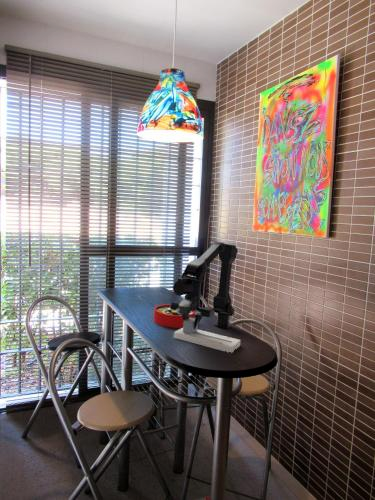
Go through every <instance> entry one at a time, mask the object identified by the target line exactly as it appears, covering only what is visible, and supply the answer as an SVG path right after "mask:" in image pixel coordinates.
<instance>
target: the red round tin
mask: <svg viewBox="0 0 375 500" xmlns="http://www.w3.org/2000/svg"><path fill="white" fill-rule="evenodd" d="M178 309H179V308H178ZM178 309H177V310H173V309H170V304H160V305H157V306H155V307H154V309H153V311H154V312H153V323H154V324H157V325H160V326H162V327H166V328H173V329H178V328H179V329H181V328H183V323H184V321H183V318H182V315H181V314H180V313H179V312H178ZM194 315H196V312H195V311H191V312H190V313H189V317H188V318H190V317H191V318H195V316H194Z"/></svg>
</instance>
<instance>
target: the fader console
mask: <svg viewBox="0 0 375 500" xmlns="http://www.w3.org/2000/svg"><path fill="white" fill-rule="evenodd" d="M173 339H177V340H181V341H184V342H188V343H193V344H195V345H196V344H197V345H200V346H203V347H207V348H210V349H214V350H218V351H222V352H225V351H226V353H229V352H231V353H230V354H232V353H234V350H235V349H236V350H237V349H238V348H239V347H240V346H241V339H237V338H233V337H230V336H225V335H222V334H217V333H214V332H210V331H206V330H201V329H198V330H197V331H196V332H194V333H192V334H189V333H185V332H183V328H179V329H177V330H176V331H174V333H173ZM236 350H235V351H236Z"/></svg>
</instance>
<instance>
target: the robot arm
mask: <svg viewBox="0 0 375 500" xmlns="http://www.w3.org/2000/svg"><path fill="white" fill-rule="evenodd" d="M238 252H239V251H238V247H237V246H236V245H235V244H229V243H224V242H220V241H214V242H213V243H212V244H211V246H210V247H209V248H207V250H206V251H204V252H203V254H202V255H201V256H199V257H198V258H195V259H193V260H191V261H189V263H187V265H186V266H185V269H184V271H183V272H182V275H181V276H180V277H178V278H177V281H175V282H174V284H173V286H172V290H173V292H174V294H175V295H177V296H184V297H183V299H182V301H181V300H175V301H172V302H171V303H170V304H169V305H170V309H173V310H177V309H178V308H179V309H178V312H179V313H180V314H181V315H182V318H183V321H184V320H186V319H188V317H189V313H190V312H191V311H195V315H194V316H195V323H194V330H195V329H196V328H197V326H198V327H199V324H200V322H201V320H202V319H203V317H206V318H210V317H213V316H215V313H217V319H216V323H215V324H214V325H213V326H214V327H216V328H217V327H218V328H221V329H228V328H230V327H231V326H232V324H231V323H230V317H233V315H234V314H235V309H234V307H233V305H232V298H231V295H230V286H231V275H232V269H233V263H234V261H235V260H236V259H237V255H238ZM217 257H218V258H219V260H220V262H221V264H220V272H219V273H220V274H219V275H220V276H219V284H218V292H217V294H216V295H214V296H213V298H212V300H213V301H212V307H209V306H204V307H202V308H201V302H200V300H201V298H202V294H201V288H202V283H203V282H205V279H204V278H203V277H204V275H205V274H206V273H207V271H208V267H209V265H210V264H211V263H212V262H213V261H214V260H215V259H216V258H217Z"/></svg>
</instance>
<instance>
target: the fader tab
mask: <svg viewBox="0 0 375 500" xmlns="http://www.w3.org/2000/svg"><path fill="white" fill-rule="evenodd" d="M194 323H195V318H191V317H190V318H188V319H186V320H184V323H183V332H185V333H189V334H192V333H194V332H196V331H197V330H199V328H198V327H199V325H198V326H197V328H196V329H195V330H194Z"/></svg>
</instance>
